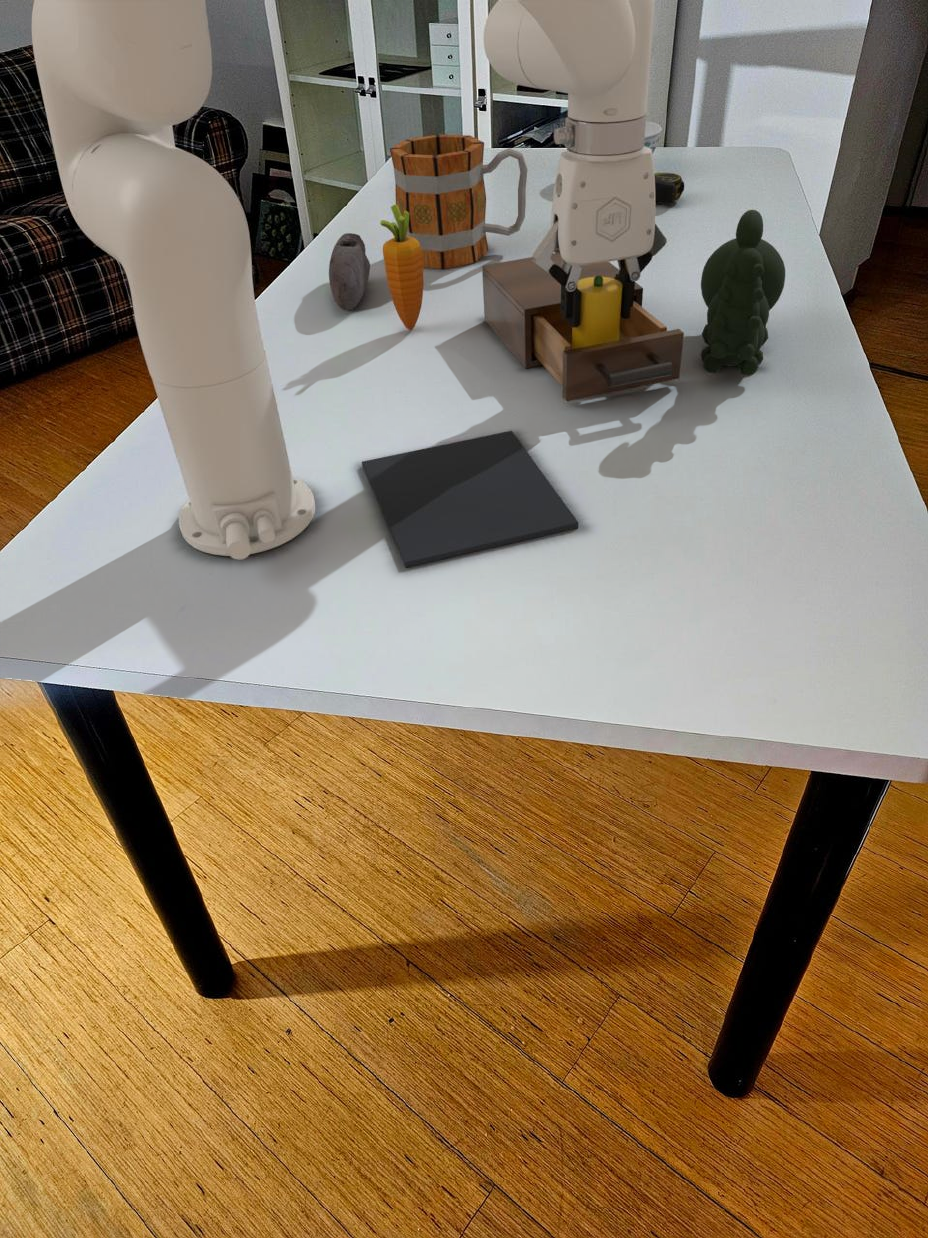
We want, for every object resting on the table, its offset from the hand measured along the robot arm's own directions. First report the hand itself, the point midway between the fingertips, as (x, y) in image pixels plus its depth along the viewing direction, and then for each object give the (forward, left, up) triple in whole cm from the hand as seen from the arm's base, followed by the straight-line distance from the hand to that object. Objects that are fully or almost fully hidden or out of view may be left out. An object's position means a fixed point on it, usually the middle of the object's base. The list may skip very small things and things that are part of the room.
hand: (596, 316), depth 98 cm
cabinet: (+12, 0, -7) cm, 14 cm away
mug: (+46, +2, -7) cm, 47 cm away
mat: (-19, +22, -7) cm, 29 cm away
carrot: (+21, +17, -7) cm, 28 cm away
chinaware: (+72, -35, -7) cm, 81 cm away
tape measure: (+54, -35, -7) cm, 65 cm away
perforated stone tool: (+35, +22, -7) cm, 42 cm away
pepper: (0, 0, -3) cm, 3 cm away
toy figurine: (-1, -17, -7) cm, 18 cm away
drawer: (-2, 0, -6) cm, 6 cm away
